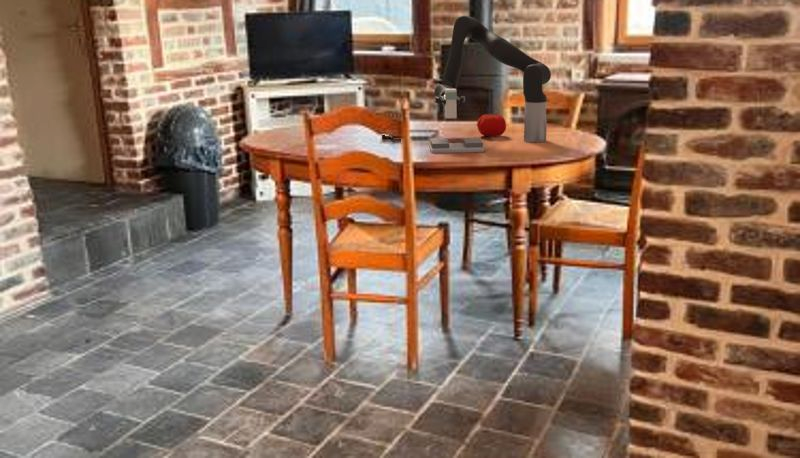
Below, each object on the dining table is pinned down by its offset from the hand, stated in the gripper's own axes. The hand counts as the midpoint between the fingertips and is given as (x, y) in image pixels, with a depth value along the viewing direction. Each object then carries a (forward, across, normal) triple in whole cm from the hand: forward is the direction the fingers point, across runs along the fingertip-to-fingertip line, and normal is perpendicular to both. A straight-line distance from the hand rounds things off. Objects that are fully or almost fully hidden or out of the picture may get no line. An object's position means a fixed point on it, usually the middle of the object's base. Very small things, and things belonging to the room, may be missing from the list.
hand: (451, 101), depth 330 cm
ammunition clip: (-21, -25, +19) cm, 38 cm away
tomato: (-22, +20, +19) cm, 36 cm away
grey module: (-3, 0, +7) cm, 7 cm away
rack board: (+8, +1, +19) cm, 20 cm away
